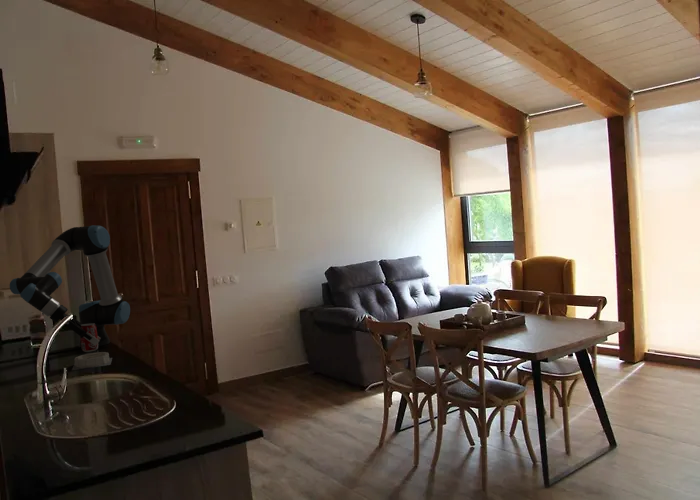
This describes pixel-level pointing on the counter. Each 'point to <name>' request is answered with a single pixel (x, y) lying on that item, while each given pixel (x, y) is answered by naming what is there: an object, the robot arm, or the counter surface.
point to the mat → (95, 366)
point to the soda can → (85, 343)
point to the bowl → (91, 360)
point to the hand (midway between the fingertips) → (98, 341)
